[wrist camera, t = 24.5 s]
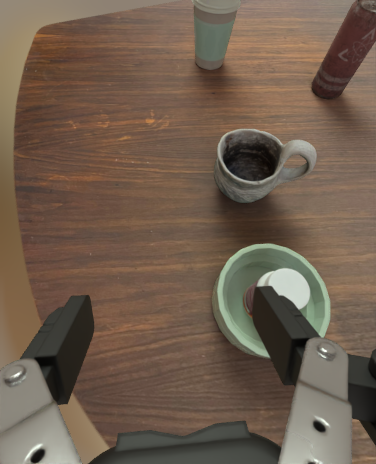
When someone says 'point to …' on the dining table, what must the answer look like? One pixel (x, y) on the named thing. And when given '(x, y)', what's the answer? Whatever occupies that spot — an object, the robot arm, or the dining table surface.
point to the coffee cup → (213, 30)
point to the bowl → (248, 272)
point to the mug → (257, 163)
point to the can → (347, 50)
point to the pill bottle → (280, 288)
